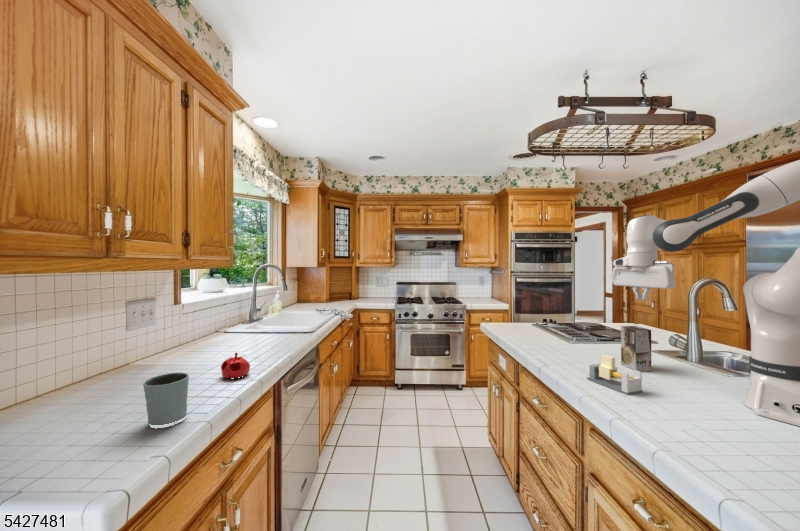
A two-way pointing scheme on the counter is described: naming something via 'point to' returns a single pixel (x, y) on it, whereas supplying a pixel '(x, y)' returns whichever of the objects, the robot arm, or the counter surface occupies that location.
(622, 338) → the coffee box
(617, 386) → the linear slide clamp
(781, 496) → the counter surface
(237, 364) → the pomegranate
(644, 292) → the robot arm
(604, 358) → the notched stepped block
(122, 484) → the counter surface
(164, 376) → the grey plant pot
